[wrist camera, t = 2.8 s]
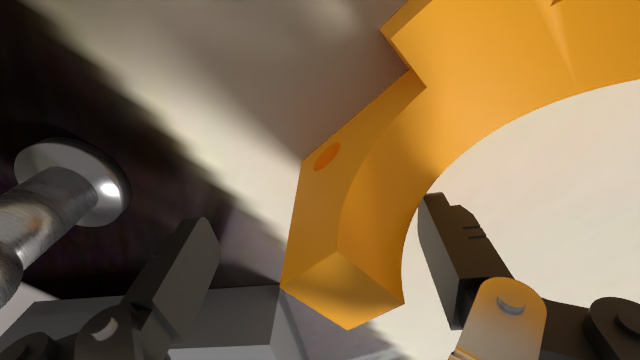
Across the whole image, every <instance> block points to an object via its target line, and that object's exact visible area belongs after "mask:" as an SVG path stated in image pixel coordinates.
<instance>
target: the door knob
mask: <svg viewBox="0 0 640 360" xmlns="http://www.w3.org/2000/svg"><path fill="white" fill-rule="evenodd" d="M14 171H15V175H16V178H17V181H18V183H19V185H18V186H16V187H15V188H13V189H11V190H10V191H8V192H6V193H5V194H3V195H1V196H0V309H1V308H2V307H3V306H4V305H5V304H6V303H7V302H8V301H9V300H10V299H11V297H12V296H13V295H14V293H15V292H16V291H17V289H18V287H19V285H20V282H21V280H22V276H23V271H24V270H25V269H26V268H27V267H28V266H29V265H30V264H31V263H32V262H34V261H35V260H36V259H37V258H38V257H39V256H40V255H41V254H43V253H44V252H45V251H46V250H47V249H48V248H49V247H50V246H51V245H53V244H54V243H55V242H56V241H57V240H58V239H59V238H60V237H62V236H63V235H64V234H65V233H66V232H67V231H68V230H69V229H71V228H72V227H73V226H74V225H75V224H76V225H81V226H88V227H97V226H103V225H107V224H109V223H111V222H113V221H114V220H115V219H116V218H117V217H118V216H119V215H120V214H121V213H122V212H123V211H124V210H125V209H126V208H127V207H128V205H129V203H130V201H131V195H132V193H131V187H130V184H129V181H128V179H127V177H126V175H125V174H124V172H123V171H122V169H121V168H120V167H119V166H118V165H117V164H116V163H115V162H114V161H113V160H112V159H111V158H110V157H109V156H108V155H106V154H105V153H103V152H102V151H101V150H99V149H97V148H95V147H94V146H92V145H90V144H88V143H85V142H83V141H80V140H77V139H73V138H68V137H50V138H46V139H44V140H41V141H39V142H37V143H35V144H33V145H31V146H29V147H27V148H25V149H24V150H22V151H21V152H20V153H19V154H18V155H17V157H16V159H15V163H14Z"/></svg>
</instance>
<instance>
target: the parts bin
mask: <svg viewBox="0 0 640 360" xmlns="http://www.w3.org/2000/svg"><path fill="white" fill-rule="evenodd" d="M279 287H280V284H278V285H264V286H250V287H236V288H222V289H208V291H207V293H206V295H205V298H204V300H203V303H202V305H201V308H200V310H199V312H198V315H197V317H196V320H195V322H194V324H193V327H192V329H191V332H190V334H189V337H188V339H187V341H186V344H171V346H170V348H169V350H168V354H169V356H170V358H171V360H309V359H308V356H307V353H306V351H305V348H304V345H303V343H302V340H301V337H300V334H299V332H298V329H297V326H296V324H295V321H294V318H293V316H292V313H291V310H290V308H289V305H288V302H287V300H286V297H285V294H284V292H283V289H281V288H279ZM124 296H125V295H124ZM124 296H110V297H96V298H82V299H68V300H54V301H40V302H34V303H33V304H32V305H31V306H30V307H29V308H28V309H27V310H26V311H25V312H24V313H23V314H22V315H21V316H20V317H19V318H18V319H17V320H16V321H15V322H14V323H13V324H12V325H11V326H10V327H9V328H8V329H7V330H6V331H5V332H4V333H3V335H2V336H1V337H0V353H1V352H2V351H3V350H4V349H6V348H7V347H8V346H9V345H11V344H12V343H14V342H15V341H17V340H18V339H20V338H22V337H24V336H26V335H28V334H31V333H35V332H44V333H46V334H47V335H48V336H50V337H51V338H52V339H53V340H58V339H61V338H63V337H66V336H69V335H72V334H74V333H77V332H79V331H80V330H81V329H82V327H83V326H84V325H85V324H86V323H87V322H88V321H89V320H90V319H91V318H92V317H93V316H95V315H96V314H97V313H99V312H100V311H102V310H104V309H106V308H108V307H111V306H114V305H118V304H119V303H120V301H121V300H122V298H123V297H124Z"/></svg>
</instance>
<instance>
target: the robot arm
mask: <svg viewBox="0 0 640 360" xmlns="http://www.w3.org/2000/svg"><path fill="white" fill-rule="evenodd" d="M418 236H419V241H420V244H421V247H422V250H423V253H424V256H425V258H426V261H427V264H428V267H429V270H430V272H431V275H432V278H433V281H434V284H435V286H436V289H437V292H438V295H439V298H440V300H441V303H442V306H443V309H444V312H445V315H446V317H447V320H448V323H449V326H450V329H451V330H463V331H462V333H461V336H460V338H459V341H458V343H457V346H456V348H455V350H454V352H452V353H451V354H450V356H449V358H448V360H640V304H638V303H636V302H633V301H630V300H626V299H622V298H616V297H604V298H600V299H597V300H596V301H594V302H593V303H592V305H591V306H590V308H584V307H579V306H574V305H569V304H564V303H559V302H554V301H550V300H547V299H544V298H541V297H540V296H539V295H538V294H537V293H536V292H535V291H534V290H533V289H532V288H530V287H529V286H527V285H526V284H524V283H522V282H520V281H517V280H515V279H514V277H513V276H512V275H511V273H510V272H509V270H508V268H507V267H506V265H505V264H504V262H503V261H502V259H501V258H500V256H499V254H498V253H497V251H496V250H495V248H494V247H493V245H492V243H491V242H490V240H489V239H488V238H487V237H486V234H485V233H484V231H483V229H482V228H480V225H479V223H478V222H477V220H476V218H475V217H474V215H473V214H472V213H470V212H469V211H468V210H466V209H465V208H464V207H462V206H461V205H455V206H450V205H449V203H448V201H447V199H446V197H445V196H444V194H443V193H442V192H438V193H429V194H425V196H424V197H423V199H422V200H421V202H420V204H419V206H418ZM220 258H221V248H220V245H219V243H218V241H217V238H216V236H215V234H214V232H213V230H212V228H211V226H210V224H209V222H208V220H207V219H206V218H205V217H199V218H190V219H184V220H182V221H181V222H180V224H179V226H178V227H177V229H176V230H175V232H174V233H173V234H170V235H169V236H168V237H167V238H166V239H165V240H164V241H162V242H161V243H160V244H159V246H158V247H157V249H156V250H155V251H154V253H153V254H152V258H150V259H149V260H148V262H147V263H146V265H145V267H144V268H143V269H142V271H141V272H140V274H139V275H138V276H137V278H136V279H135V281H134V282H133V284H132V285H131V287H130V288H129V290H128V291H127V293H126V294H125V296H124V297H123V298H122V300H121V301H120V303H119V304H118V305H114V306H111V307H108V308H106V309H104V310H102V311H100V312H99V313H97V314H96V315H95V316H93V317H92V318H91V319H90V320H89V321H88V322H87V323H86V324H85V325H84V326H83V327H82V329H81V330H80V331H79V332H77V333H74V334H72V335H69V336H66V337H63V338H61V339H58V340H53V339H52V338H51V337H50V336H48V335H47V334H46V333H44V332H35V333H31V334H28V335H26V336H24V337H22V338H20V339H18V340H17V341H15V342H14V343H12V344H11V345H9V346H8V347H7V348H6V349H4V350H3V351H2V352H1V353H0V360H171V358H170V356H169V354H168V350H169V348H170V346H171V344H186V341H187V339H188V337H189V334H190V332H191V329H192V327H193V324H194V322H195V320H196V317H197V315H198V312H199V310H200V308H201V305H202V303H203V300H204V298H205V295H206V293H207V291H208V288H209V286H210V283H211V281H212V279H213V276H214V274H215V271H216V269H217V266H218V264H219V262H220Z"/></svg>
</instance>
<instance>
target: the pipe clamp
mask: <svg viewBox="0 0 640 360" xmlns="http://www.w3.org/2000/svg"><path fill="white" fill-rule="evenodd" d="M379 30H380V32H381V33H382V34H383V36H384V37H385V38H386V39H387V41H388V42H389V43H390V45H391V46H392V47H393V49H394V50H395V51H396V53H397V54H398V55H399V56H400V58H401V59H402V60H403V62H404V63H405V64H406V66H407V67H408V68H409V70H408V71H407V72H406V73H405V74H403V75H402V76H401V77H400V78H399V79H398V80H396V81H395V82H394V83H393V84H392V85H391V86H389V87H388V88H387V89H386V90H385V91H384V92H382V93H381V94H380V95H379V96H378V97H377V98H375V99H374V100H373V101H372V102H371V103H370V104H368V105H367V106H366V107H365V108H364V109H363V110H361V111H360V112H359V113H358V114H357V115H356V116H354V117H353V118H352V119H351V120H350V121H349V122H347V123H346V124H345V125H344V126H343V127H342V128H340V129H339V130H338V131H337V132H336V133H335V134H333V135H332V136H331V137H330V138H329V139H328V140H326V141H325V142H324V143H323V144H322V145H321V146H320V147H318V148H317V149H316V150H315V151H314V152H313V153H311V154H310V155H309V156H308V157H307V158H306V159H304V160H303V161H302V164H301V169H300V175H299V180H298V186H297V192H296V197H295V203H294V208H293V214H292V220H291V225H290V231H289V236H288V242H287V248H286V253H285V259H284V264H283V270H282V275H281V281H280V287H279V288H281V289H283V290H284V291H286V292H287V293H289V294H290V295H292V296H294V297H295V298H297V299H298V300H300V301H302V302H303V303H305V304H306V305H308V306H309V307H311V308H313V309H314V310H316V311H317V312H319V313H321V314H322V315H324V316H325V317H327V318H329V319H330V320H332V321H333V322H335V323H336V324H338V325H340V326H341V327H343V328H344V329H346V330H350V329H352V328H354V327H356V326H358V325H361V324H363V323H365V322H367V321H369V320H371V319H373V318H375V317H378V316H380V315H382V314H384V313H386V312H388V311H390V310H392V309H395V308H397V307H399V306H401V305H403V304H405V302H404V296H403V291H402V280H401V261H402V253H403V246H404V242H405V238H406V234H407V231H408V228H409V225H410V222H411V220H412V218H413V216H414V213H415V211H416V209H417V207H418V206H419V204H420V202H421V200H422V199H423V197H424V196H425V194H426V193H427V191H428V190H429V188H430V187H431V186H432V184H433V183H434V182H435V181H436V179H437V178H438V177H439V176H440V175H441V174H442V173H443V172H444V170H445V169H446V168H447V167H448V166H449V165H450V164H451V163H453V162H454V161H455V160H456V159H457V158H458V157H459V156H460V155H462V154H463V153H464V152H465V151H466V150H468V149H469V148H470V147H472V146H473V145H474V144H476V143H477V142H478V141H480V140H481V139H483V138H484V137H486V136H487V135H489V134H490V133H492V132H493V131H495V130H497V129H499V128H500V127H502V126H504V125H505V124H507V123H509V122H511V121H513V120H515V119H517V118H519V117H521V116H523V115H525V114H527V113H530V112H532V111H534V110H536V109H538V108H541V107H543V106H546V105H549V104H551V103H554V102H556V101H559V100H562V99H565V98H568V97H571V96H574V95H577V94H580V93H583V92H587V91H590V90H594V89H598V88H601V87H605V86H610V85H614V84H618V83H622V82H627V81H632V80H638V79H640V0H409V1H407V2H406V3H405V4H404V5H403V6H402V7H401V8H400V9H399V10H398V11H397V12H396V13H395V14H394V15H393V16H392V17H391V18H390V19H389V20H388V21H387V22H386V23H385V24H384V25H383V26H382V27H381V28H380V29H379Z"/></svg>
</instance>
